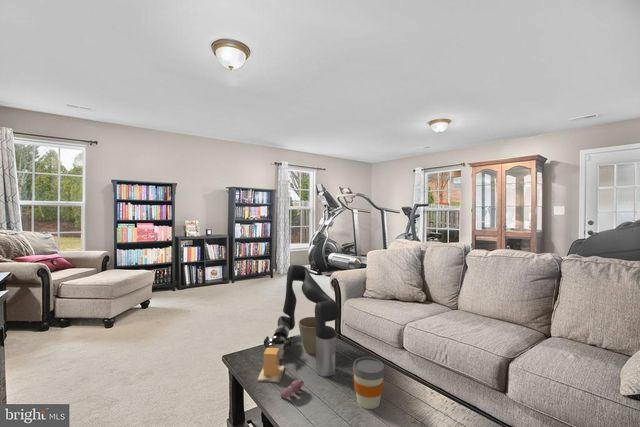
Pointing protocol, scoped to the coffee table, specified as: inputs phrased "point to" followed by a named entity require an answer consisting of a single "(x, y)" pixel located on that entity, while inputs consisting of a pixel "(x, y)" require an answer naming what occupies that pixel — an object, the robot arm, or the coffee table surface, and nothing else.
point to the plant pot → (308, 334)
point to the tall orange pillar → (271, 361)
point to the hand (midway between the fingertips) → (275, 348)
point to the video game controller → (292, 388)
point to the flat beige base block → (271, 378)
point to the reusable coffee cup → (368, 381)
